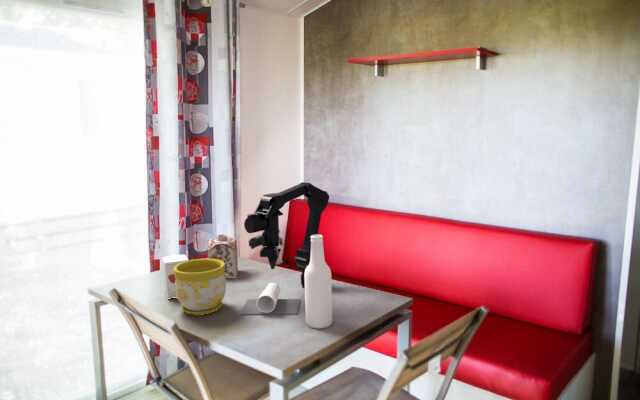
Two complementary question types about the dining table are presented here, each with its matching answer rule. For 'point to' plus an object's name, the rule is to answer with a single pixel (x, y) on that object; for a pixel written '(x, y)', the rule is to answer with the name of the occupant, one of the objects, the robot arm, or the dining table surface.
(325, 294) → the alcohol
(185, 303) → the flowerpot
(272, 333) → the dining table surface
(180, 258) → the supplement box
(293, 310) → the mat
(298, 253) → the robot arm
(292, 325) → the dining table surface
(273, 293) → the drinking glass
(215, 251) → the decorative jar
